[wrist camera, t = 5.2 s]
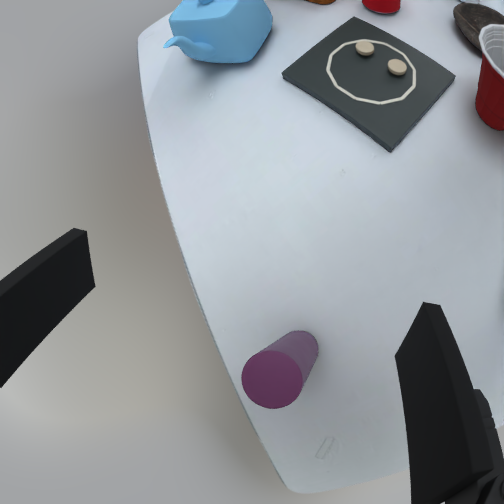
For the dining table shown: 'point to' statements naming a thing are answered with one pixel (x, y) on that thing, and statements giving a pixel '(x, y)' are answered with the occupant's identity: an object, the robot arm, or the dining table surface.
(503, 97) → the plastic cup
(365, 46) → the eye
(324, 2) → the orange toaster
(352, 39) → the slate
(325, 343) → the dining table surface
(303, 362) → the cylinder
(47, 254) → the robot arm
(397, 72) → the eye
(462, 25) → the stone
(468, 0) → the cup
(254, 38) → the teapot
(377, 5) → the beverage can
